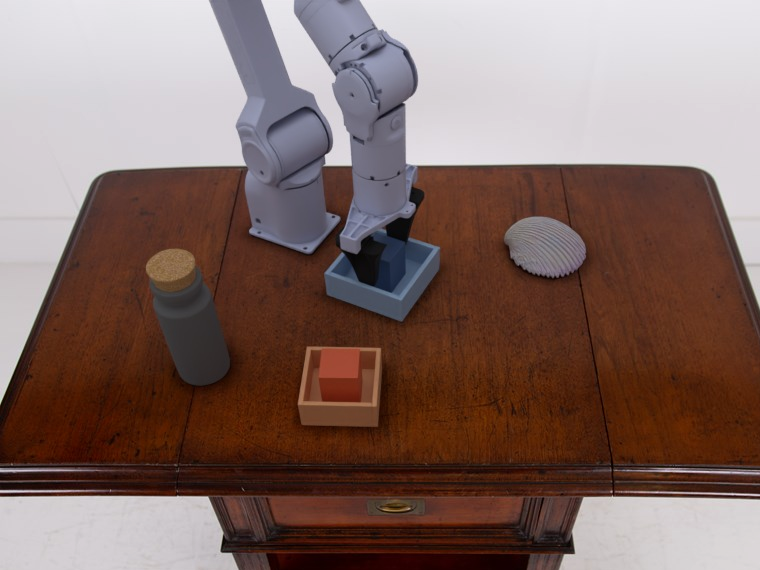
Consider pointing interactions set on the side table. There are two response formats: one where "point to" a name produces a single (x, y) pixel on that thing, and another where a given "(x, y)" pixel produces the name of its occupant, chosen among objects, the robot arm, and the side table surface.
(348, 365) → the terracotta block
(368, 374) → the warm bin
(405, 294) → the bin
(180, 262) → the bottle
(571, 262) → the seashell
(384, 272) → the slate block
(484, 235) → the side table surface
